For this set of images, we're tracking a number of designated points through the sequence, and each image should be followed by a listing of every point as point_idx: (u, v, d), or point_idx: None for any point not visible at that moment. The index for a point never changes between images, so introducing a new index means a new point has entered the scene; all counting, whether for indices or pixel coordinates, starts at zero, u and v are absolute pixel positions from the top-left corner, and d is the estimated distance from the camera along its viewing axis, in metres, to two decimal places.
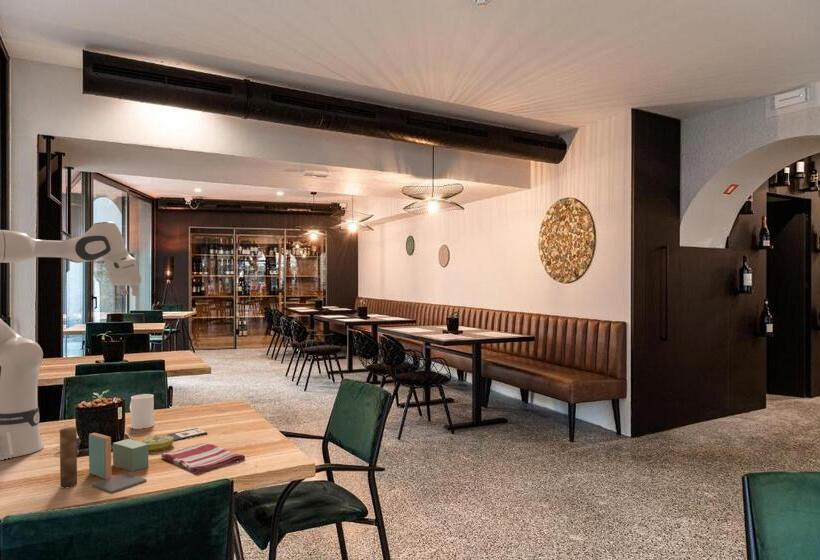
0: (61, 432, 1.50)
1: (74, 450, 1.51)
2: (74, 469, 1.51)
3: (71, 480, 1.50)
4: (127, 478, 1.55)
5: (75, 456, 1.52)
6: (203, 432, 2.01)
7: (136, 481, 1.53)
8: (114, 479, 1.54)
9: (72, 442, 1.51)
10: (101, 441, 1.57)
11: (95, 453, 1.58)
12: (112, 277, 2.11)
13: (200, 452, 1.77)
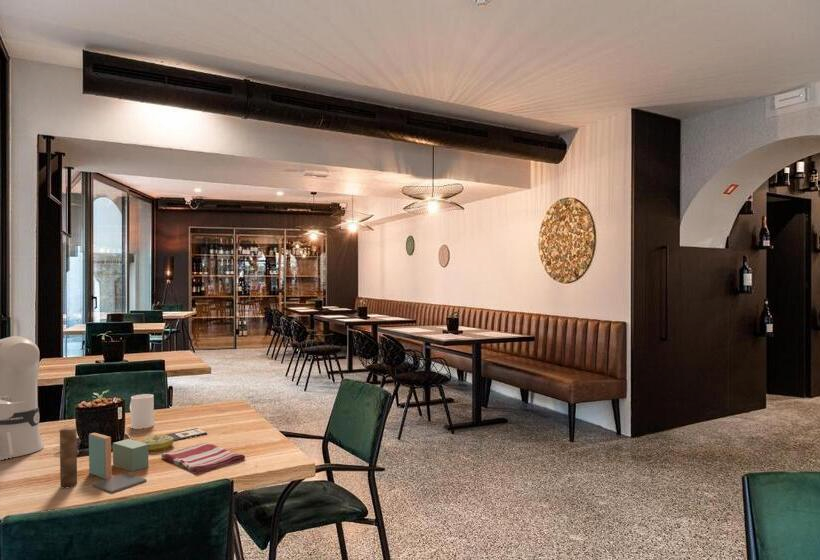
0: (61, 432, 1.50)
1: (74, 450, 1.51)
2: (74, 469, 1.51)
3: (71, 480, 1.50)
4: (127, 478, 1.55)
5: (75, 456, 1.52)
6: (203, 432, 2.01)
7: (136, 481, 1.53)
8: (114, 479, 1.54)
9: (72, 442, 1.51)
10: (101, 441, 1.57)
11: (95, 453, 1.58)
12: None
13: (200, 452, 1.77)
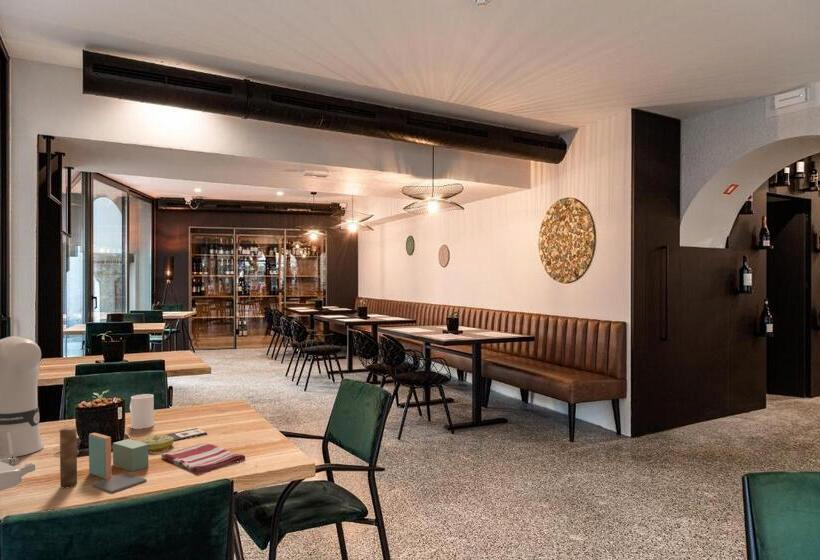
0: (61, 432, 1.50)
1: (74, 450, 1.51)
2: (74, 469, 1.51)
3: (71, 480, 1.50)
4: (127, 478, 1.55)
5: (75, 456, 1.52)
6: (203, 432, 2.01)
7: (136, 481, 1.53)
8: (114, 479, 1.54)
9: (72, 442, 1.51)
10: (101, 441, 1.57)
11: (95, 453, 1.58)
12: None
13: (200, 452, 1.77)
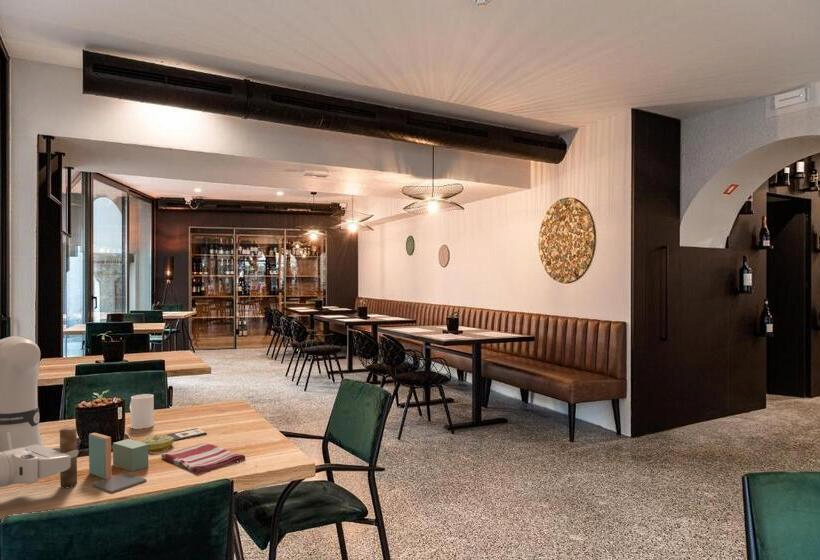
0: (61, 432, 1.50)
1: None
2: (74, 469, 1.51)
3: (71, 480, 1.50)
4: (127, 478, 1.55)
5: None
6: (202, 432, 2.01)
7: (136, 481, 1.53)
8: (114, 479, 1.54)
9: (72, 442, 1.51)
10: (101, 441, 1.57)
11: (95, 453, 1.58)
12: None
13: (200, 452, 1.77)
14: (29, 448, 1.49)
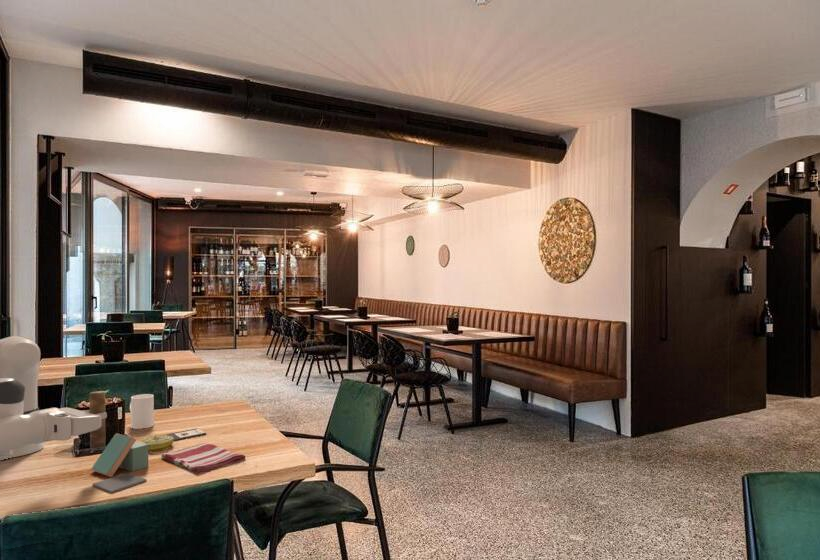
0: (91, 395, 1.57)
1: None
2: (103, 431, 1.58)
3: (100, 441, 1.57)
4: (127, 478, 1.55)
5: None
6: (202, 433, 2.00)
7: (136, 481, 1.53)
8: (114, 479, 1.54)
9: (101, 405, 1.58)
10: (126, 439, 1.63)
11: (112, 450, 1.63)
12: None
13: (200, 452, 1.77)
14: (60, 410, 1.56)
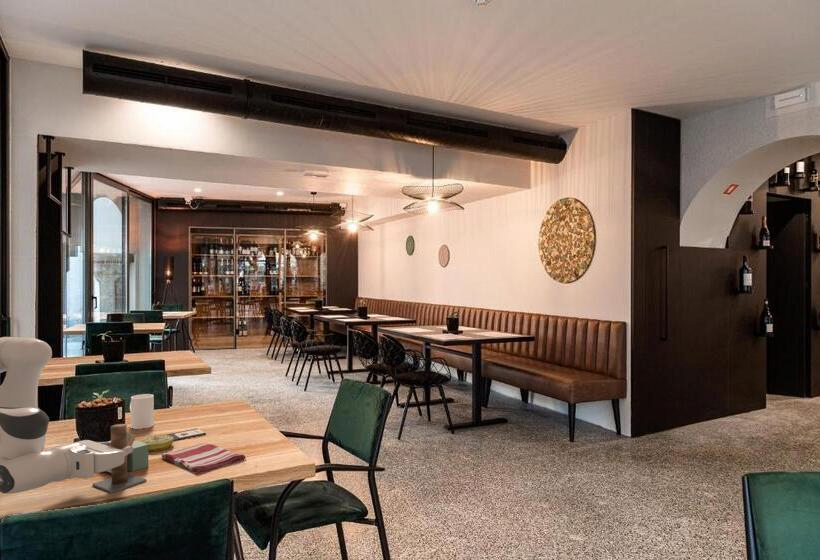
0: (112, 429, 1.51)
1: None
2: (125, 465, 1.52)
3: (122, 477, 1.51)
4: (127, 478, 1.55)
5: None
6: (202, 433, 2.00)
7: (136, 481, 1.53)
8: None
9: (123, 439, 1.52)
10: None
11: None
12: None
13: (200, 452, 1.77)
14: (81, 443, 1.50)
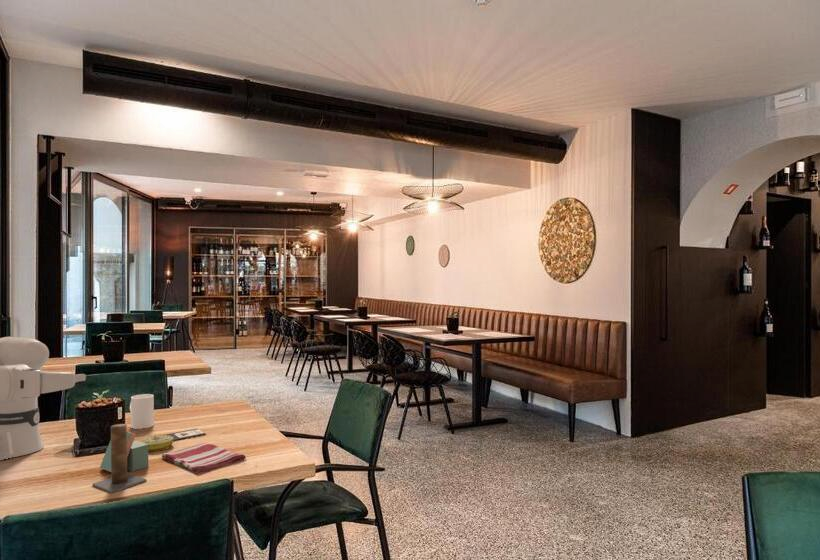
0: (112, 429, 1.51)
1: (125, 446, 1.52)
2: (125, 465, 1.52)
3: (122, 476, 1.51)
4: (127, 478, 1.55)
5: (126, 452, 1.53)
6: (202, 433, 2.00)
7: (136, 481, 1.53)
8: None
9: (123, 439, 1.52)
10: None
11: None
12: None
13: (200, 452, 1.77)
14: None
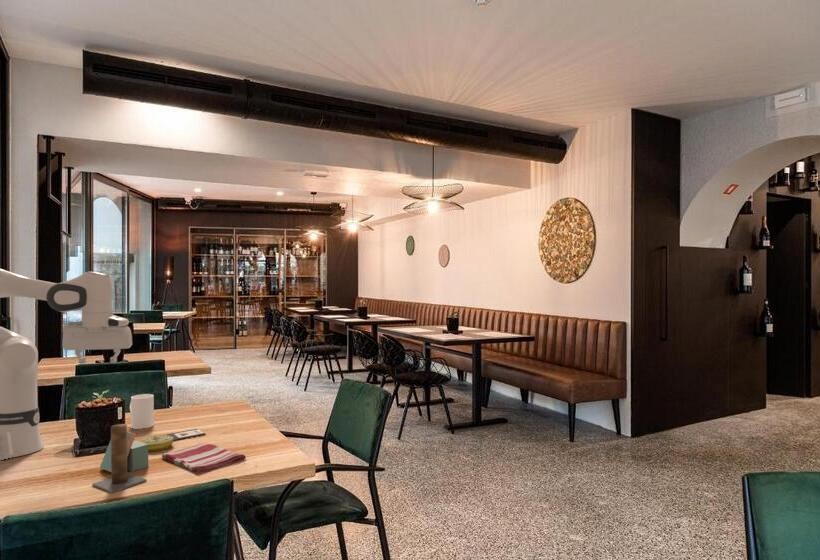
0: (112, 429, 1.51)
1: (125, 447, 1.52)
2: (125, 465, 1.52)
3: (122, 477, 1.51)
4: (127, 478, 1.55)
5: (126, 453, 1.53)
6: (201, 433, 2.00)
7: (136, 481, 1.53)
8: None
9: (123, 439, 1.52)
10: None
11: None
12: (73, 340, 1.72)
13: (200, 452, 1.77)
14: None
